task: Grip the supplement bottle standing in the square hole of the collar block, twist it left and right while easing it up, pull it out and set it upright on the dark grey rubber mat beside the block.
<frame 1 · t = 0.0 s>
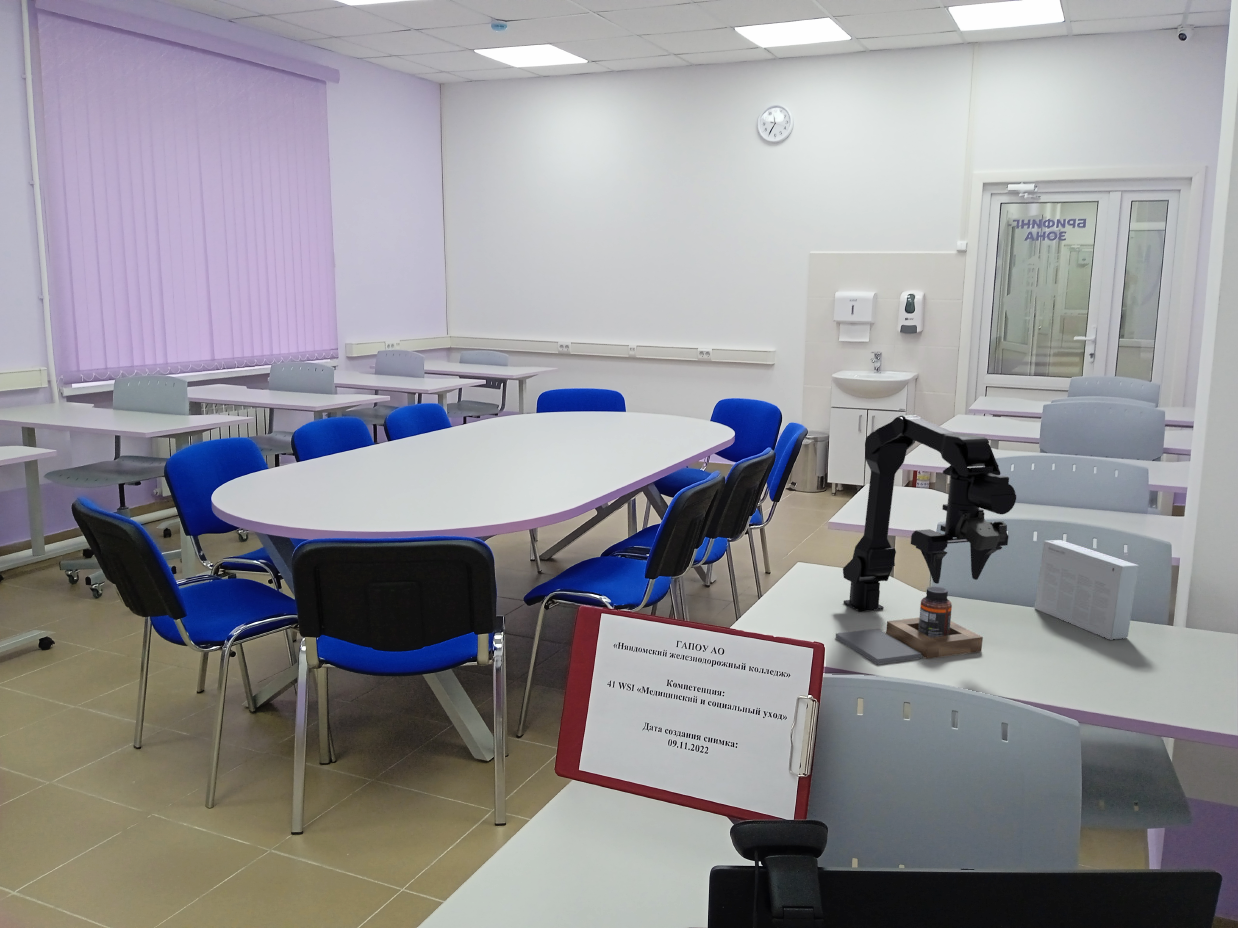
hand: (955, 581, 188), 15 cm above the table, tool pointing down, fingers open, 9 cm apart
rubber mat: (877, 647, 192), on the table
skincare box: (1079, 623, 211), on the table
supplement bottle: (932, 644, 196), resting in collar block
collar block: (932, 643, 196), on the table
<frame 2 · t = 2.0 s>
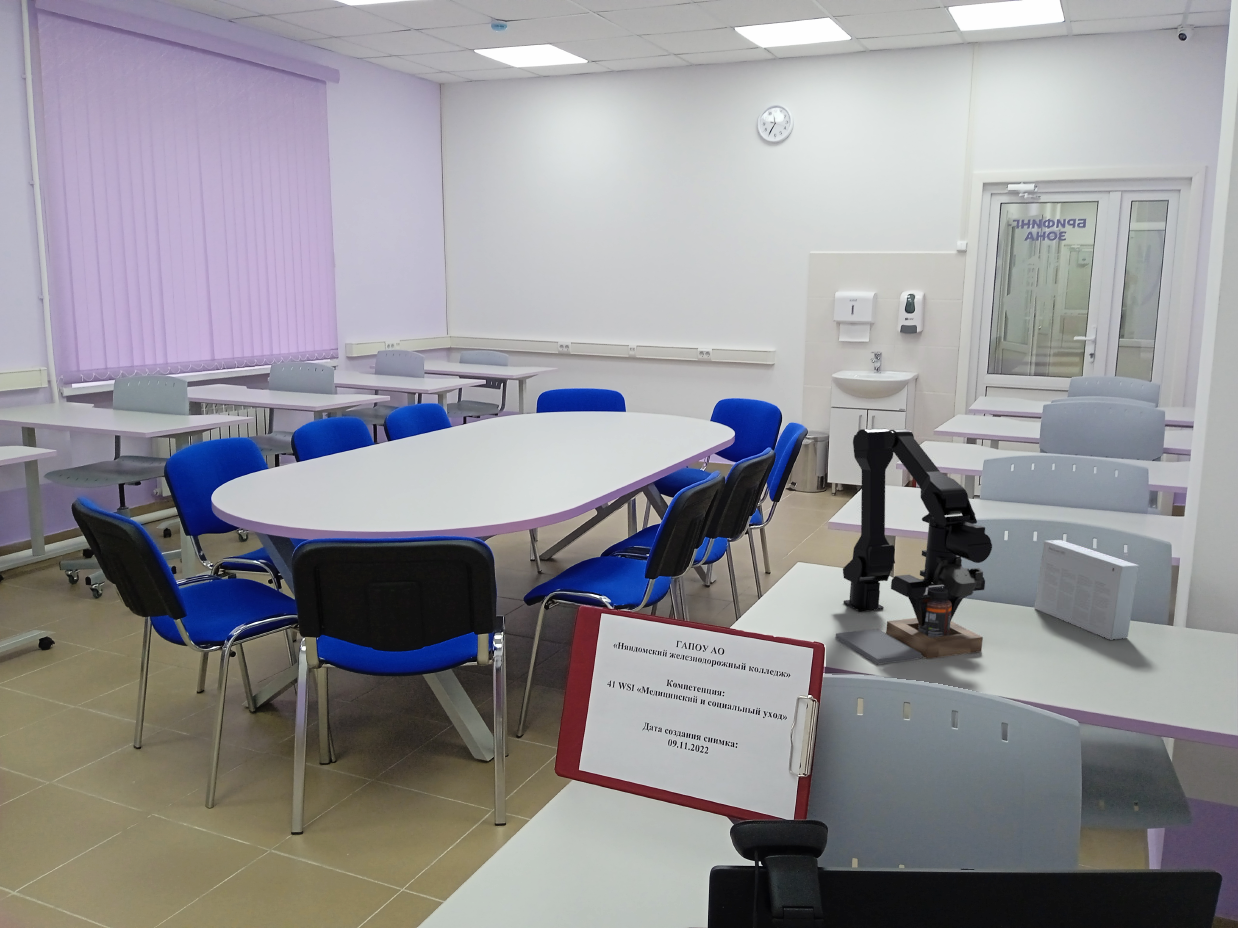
hand: (934, 624, 195), 4 cm above the table, tool pointing down, fingers closed on supplement bottle, 6 cm apart
supplement bottle: (932, 644, 196), resting in collar block, touching gripper
everything else where it was.
when the fingers open (6 cm above the table, at t = 7.3 s): supplement bottle stays where it is, resting on rubber mat.
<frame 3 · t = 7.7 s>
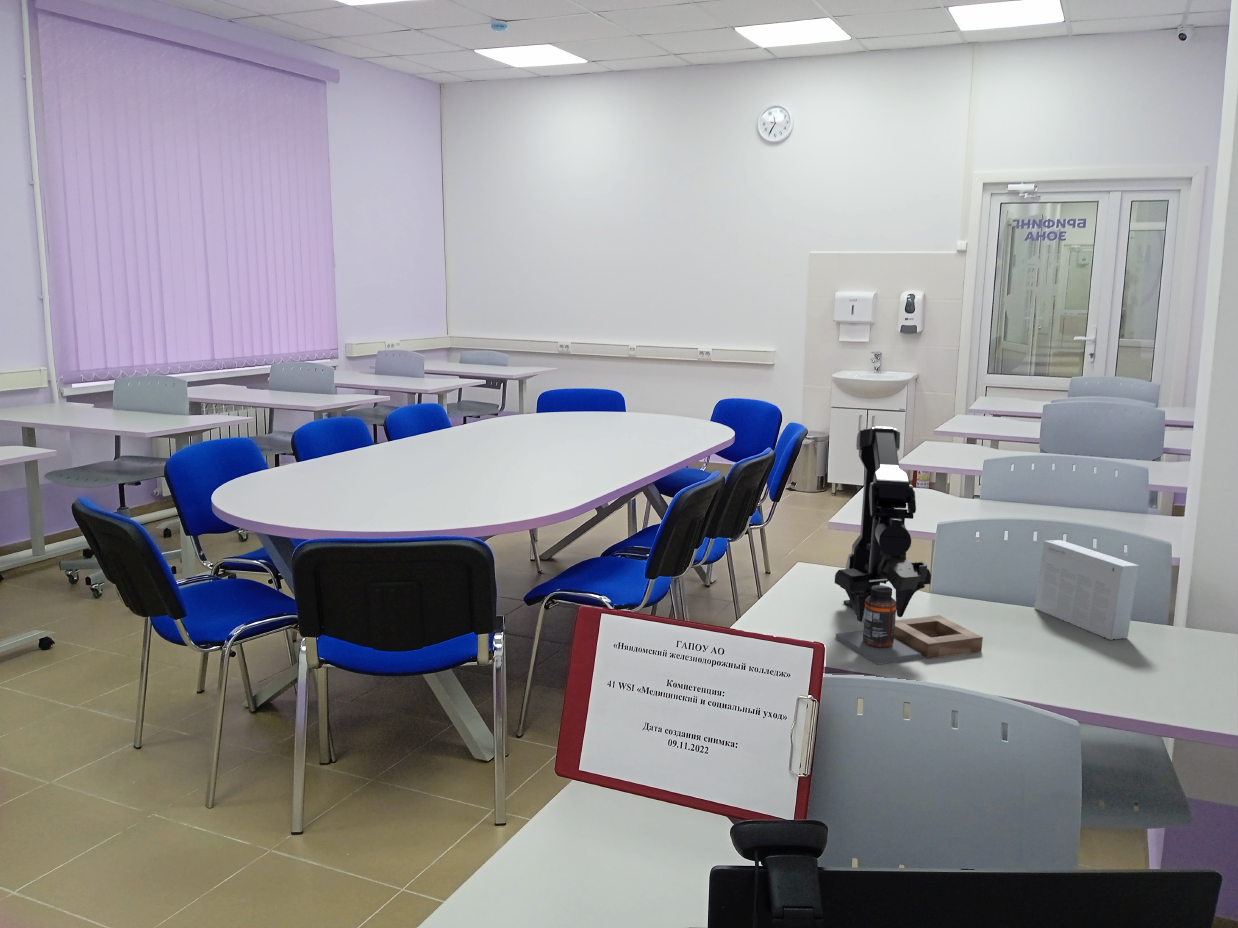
hand: (879, 618, 191), 6 cm above the table, tool pointing down, fingers open, 9 cm apart
supplement bottle: (877, 643, 192), point 1 cm above the table, touching rubber mat
everything else where it was.
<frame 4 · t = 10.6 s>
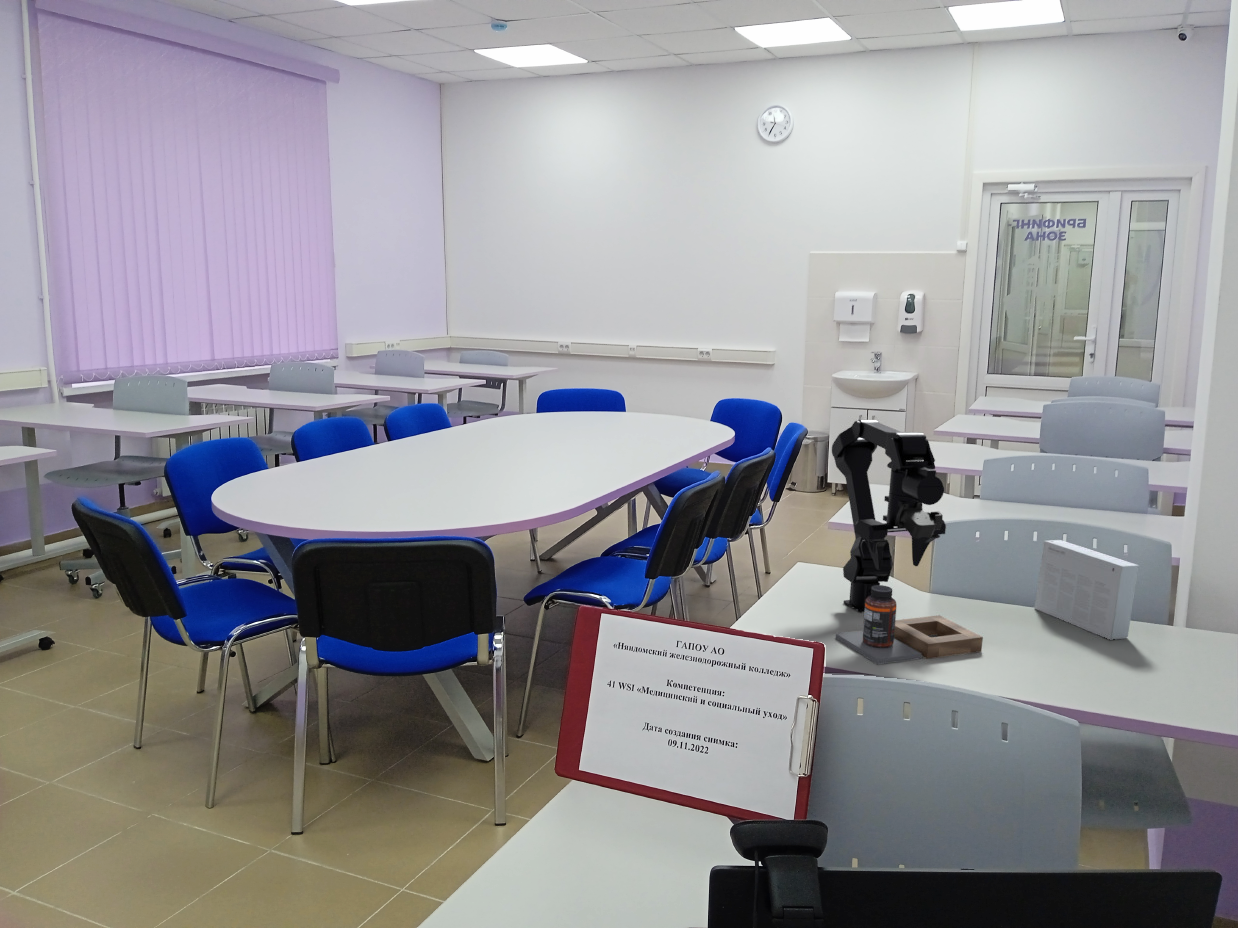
hand: (897, 567, 202), 13 cm above the table, tool pointing down, fingers open, 9 cm apart
nothing on the table moved.
at the end: supplement bottle inside the target area on the rubber mat (0.0 cm from its centre), point 0.8 cm above the rubber mat's base; supplement bottle tilted 0°; the gripper is holding nothing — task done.
